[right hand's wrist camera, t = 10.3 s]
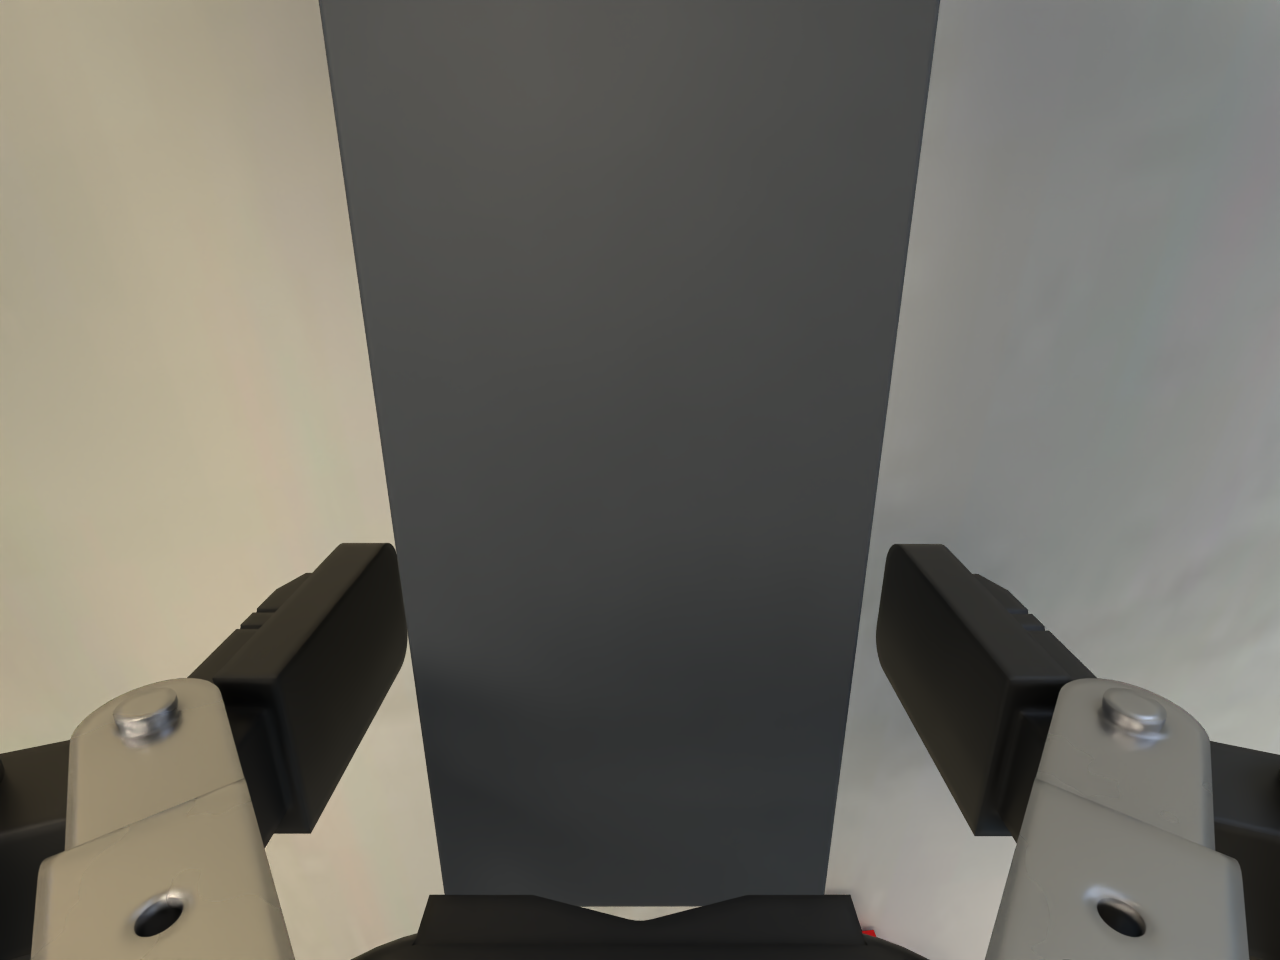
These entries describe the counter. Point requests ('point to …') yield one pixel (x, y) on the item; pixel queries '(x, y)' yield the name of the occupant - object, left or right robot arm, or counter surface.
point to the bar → (631, 413)
